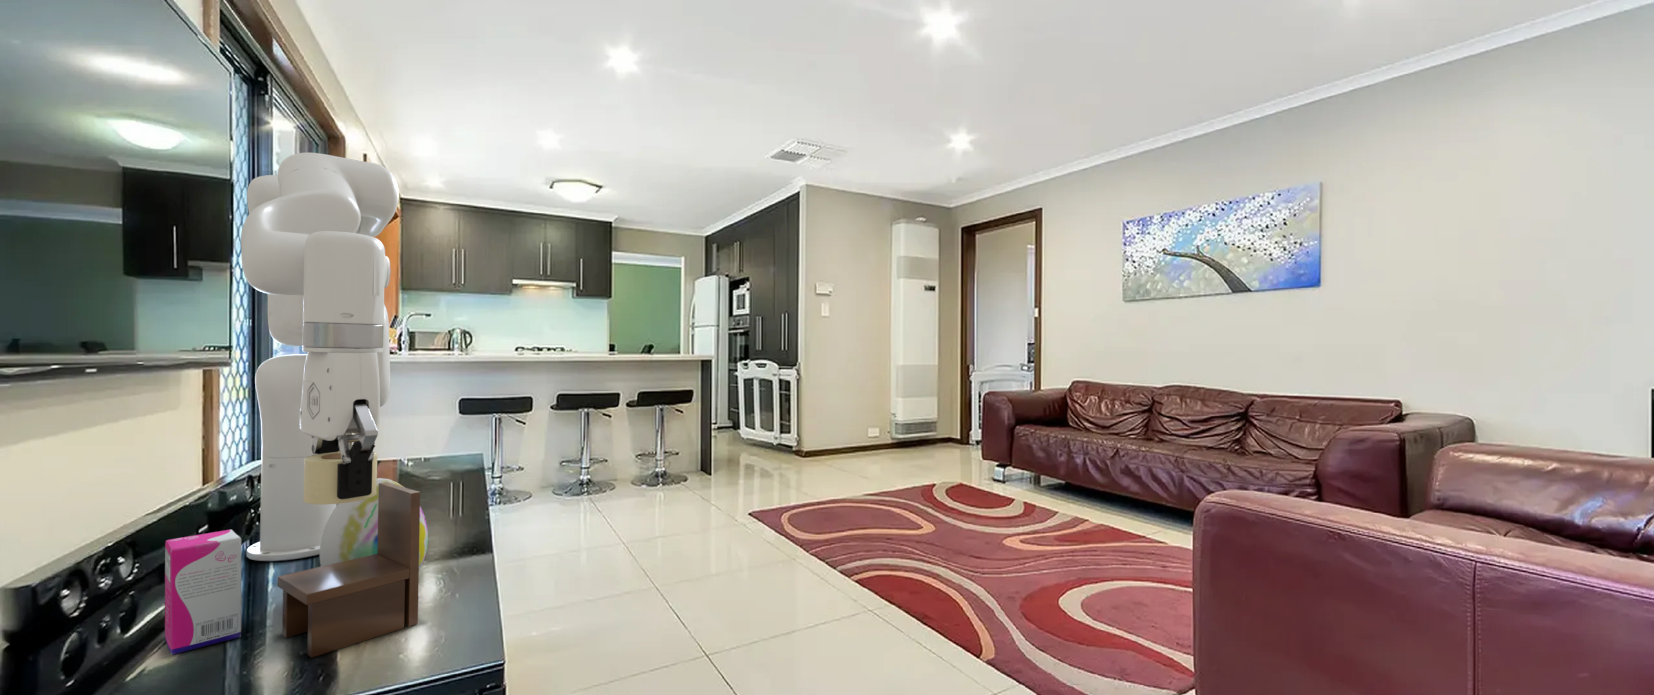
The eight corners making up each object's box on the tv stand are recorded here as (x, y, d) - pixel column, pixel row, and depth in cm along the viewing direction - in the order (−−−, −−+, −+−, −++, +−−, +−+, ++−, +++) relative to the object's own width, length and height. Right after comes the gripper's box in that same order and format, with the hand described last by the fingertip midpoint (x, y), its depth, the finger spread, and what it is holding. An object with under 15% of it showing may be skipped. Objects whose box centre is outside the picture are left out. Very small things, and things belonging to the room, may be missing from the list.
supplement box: (232, 622, 76) (234, 527, 76) (241, 637, 73) (243, 537, 73) (163, 639, 72) (164, 538, 72) (169, 656, 68) (170, 549, 68)
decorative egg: (361, 610, 80) (363, 492, 80) (296, 596, 84) (298, 483, 84) (447, 577, 92) (449, 474, 92) (386, 566, 96) (388, 467, 96)
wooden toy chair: (276, 637, 73) (278, 498, 73) (385, 605, 82) (387, 482, 82) (305, 660, 68) (308, 510, 68) (417, 623, 77) (420, 492, 77)
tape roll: (294, 497, 74) (294, 455, 73) (362, 487, 79) (363, 448, 79) (316, 508, 70) (317, 463, 70) (386, 496, 75) (387, 455, 75)
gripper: (277, 337, 76) (274, 485, 76) (335, 341, 66) (331, 511, 66) (351, 338, 82) (348, 475, 82) (414, 342, 72) (410, 497, 73)
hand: (341, 490), depth 74 cm, fingers closed on tape roll, 6 cm apart
